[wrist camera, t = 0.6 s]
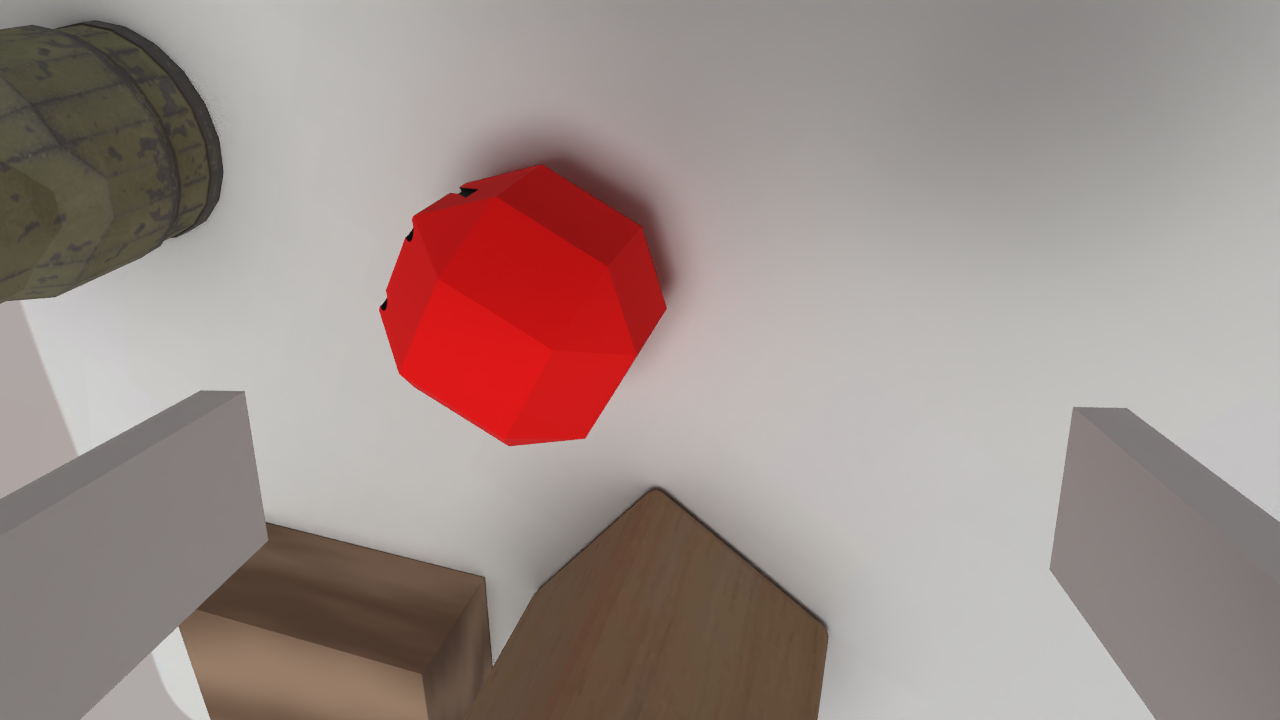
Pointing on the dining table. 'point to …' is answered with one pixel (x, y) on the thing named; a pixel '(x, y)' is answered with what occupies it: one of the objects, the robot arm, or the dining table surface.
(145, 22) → the dining table surface
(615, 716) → the wooden block
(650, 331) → the ball
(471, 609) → the walnut pedestal block
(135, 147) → the thermos
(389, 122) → the dining table surface
